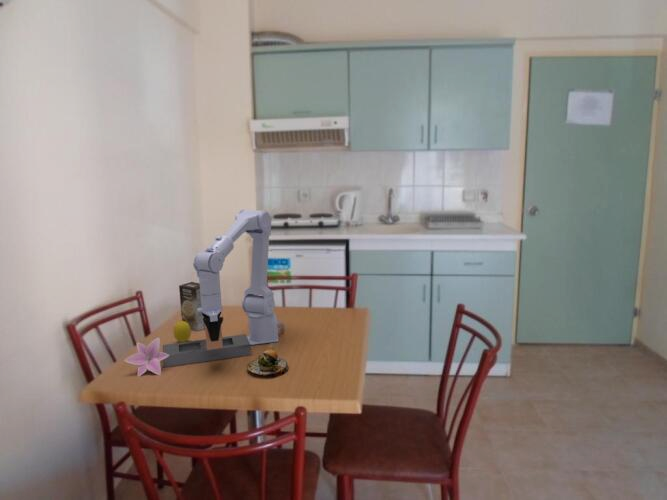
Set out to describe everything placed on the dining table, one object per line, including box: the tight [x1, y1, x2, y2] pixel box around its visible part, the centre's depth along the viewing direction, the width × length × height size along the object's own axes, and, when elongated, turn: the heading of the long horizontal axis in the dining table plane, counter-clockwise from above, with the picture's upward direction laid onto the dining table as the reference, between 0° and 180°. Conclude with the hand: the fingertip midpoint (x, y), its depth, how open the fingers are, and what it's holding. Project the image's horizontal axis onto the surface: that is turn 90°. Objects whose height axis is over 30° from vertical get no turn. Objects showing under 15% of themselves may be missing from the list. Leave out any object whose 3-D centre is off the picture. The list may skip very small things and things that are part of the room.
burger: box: [246, 345, 289, 378], centre depth 142 cm, size 12×12×8 cm
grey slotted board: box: [161, 333, 252, 368], centre depth 154 cm, size 26×10×4 cm, turn 108°
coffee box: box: [178, 281, 205, 332], centre depth 181 cm, size 9×6×16 cm
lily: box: [123, 337, 169, 377], centre depth 144 cm, size 11×11×9 cm
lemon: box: [173, 319, 192, 343], centre depth 165 cm, size 6×6×8 cm
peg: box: [204, 325, 223, 350], centre depth 144 cm, size 4×4×7 cm
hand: (214, 337), depth 144 cm, fingers closed on peg, 4 cm apart
